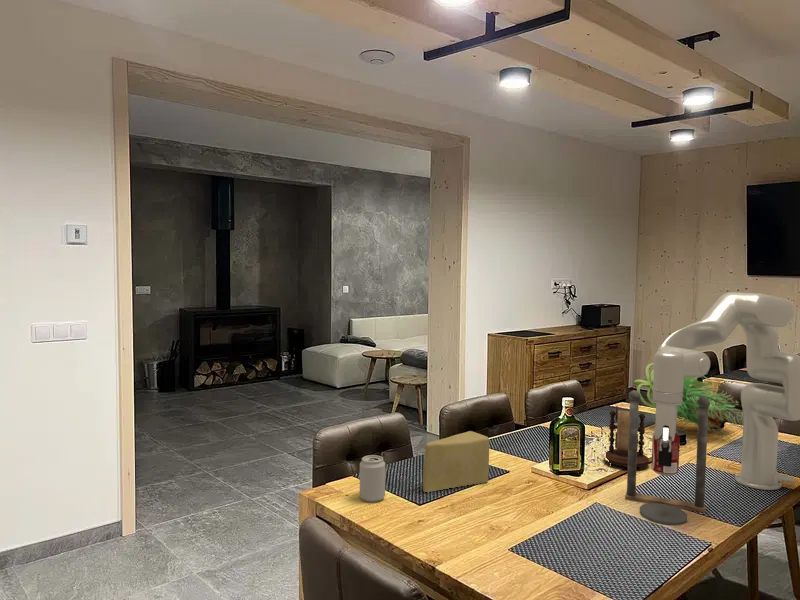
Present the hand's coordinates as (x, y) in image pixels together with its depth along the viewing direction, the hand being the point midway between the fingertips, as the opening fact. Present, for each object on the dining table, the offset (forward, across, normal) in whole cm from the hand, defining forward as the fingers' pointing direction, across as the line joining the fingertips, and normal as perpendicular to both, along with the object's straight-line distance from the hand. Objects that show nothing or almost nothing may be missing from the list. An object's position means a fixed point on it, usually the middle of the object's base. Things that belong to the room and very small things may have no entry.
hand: (665, 461), depth 165 cm
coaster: (+15, 0, 0) cm, 15 cm away
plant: (+16, -90, +8) cm, 92 cm away
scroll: (+16, -40, -13) cm, 45 cm away
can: (+15, +25, -77) cm, 82 cm away
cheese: (+16, +5, -60) cm, 62 cm away
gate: (+15, -9, 0) cm, 18 cm away
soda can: (+4, 0, 0) cm, 4 cm away
